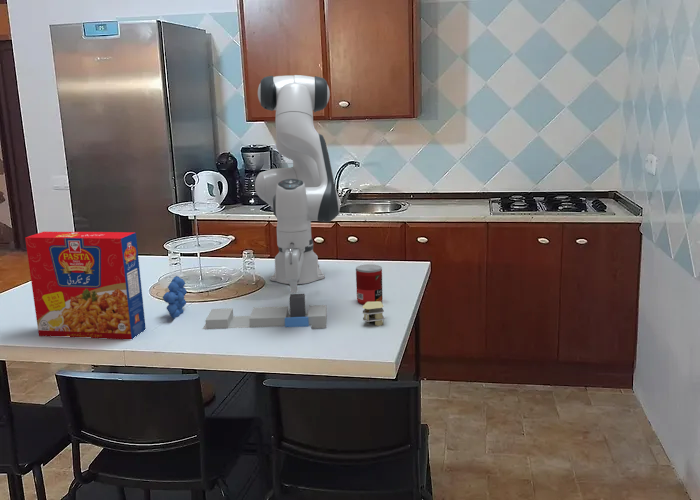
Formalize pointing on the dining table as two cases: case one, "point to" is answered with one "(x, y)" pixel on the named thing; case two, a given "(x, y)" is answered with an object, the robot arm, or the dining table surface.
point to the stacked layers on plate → (373, 312)
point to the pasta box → (86, 284)
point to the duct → (266, 318)
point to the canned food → (369, 283)
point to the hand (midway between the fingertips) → (295, 287)
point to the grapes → (175, 297)
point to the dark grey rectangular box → (297, 305)
